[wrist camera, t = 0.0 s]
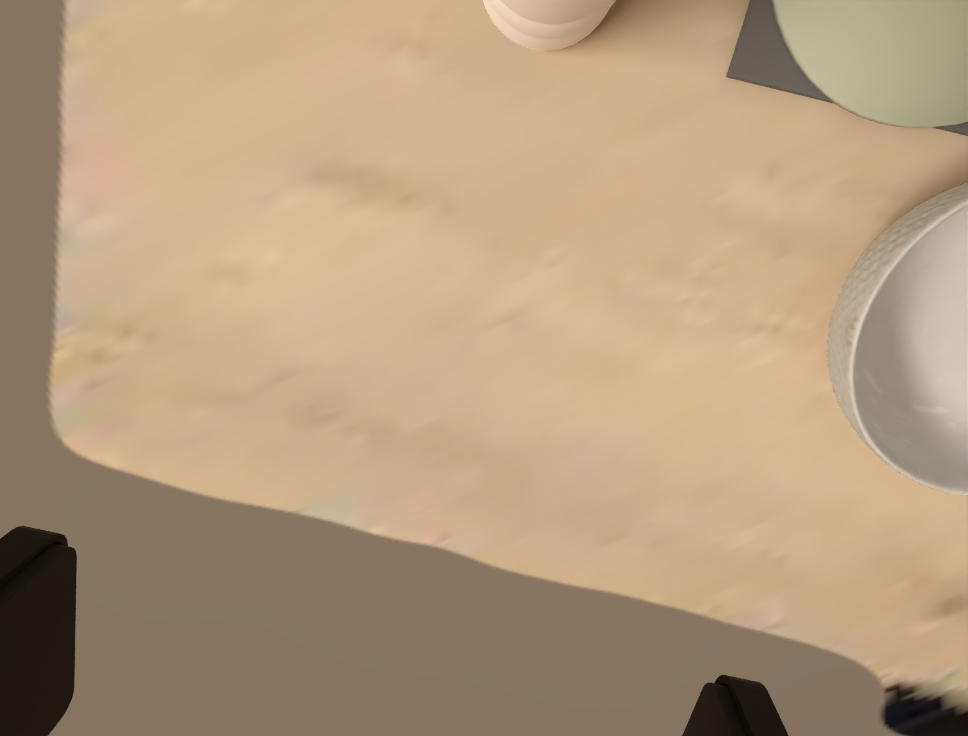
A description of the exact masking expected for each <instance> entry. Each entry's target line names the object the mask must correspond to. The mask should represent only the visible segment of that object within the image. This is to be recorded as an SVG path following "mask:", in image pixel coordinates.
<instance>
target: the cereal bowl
mask: <svg viewBox="0 0 968 736" xmlns="http://www.w3.org/2000/svg"><path fill="white" fill-rule="evenodd" d="M827 358H828V365H827V366H828V369H829V376H830V380H831V383H832V386H833V391H834V393H835V395H836V397H837V400H838V403H839V406H840V407H841V409H842V411H843V413H844V415H845V417H846V418H847V419H848V421H849V423H850V425H851V427H852V428H853V429H854V430H855V431H856V432H857V434H858V435H859V437H860V438H861V439H862V440H863V441H864V442H865V443H866V445H867V446H868V447H869V448H870V449H871V450H872V451H873V452H874V453H875V454H876V455H877V456H878V457H879V458H881V459H882V460H883V461H884V462H885V463H886V464H887V465H889V466H890V467H892V468H893V469H895V470H896V471H898V472H899V473H900V474H902V475H904V476H906V477H908V478H910V479H912V480H913V481H916V482H918V483H920V484H922V485H925V486H928V487H930V488H933V489H936V490H939V491H943V492H947V493H952V494H958V495H968V183H963V184H961V185H959V186H958V187H955V188H951V189H948V190H946V191H944V192H942V193H941V194H939V195H936V196H933V197H932V198H930V199H929V200H927V201H925V202H924V203H922V204H919V205H918V206H917V207H914V208H912V209H911V210H910V211H909V212H908V213H907V214H905V215H903V216H901V217H900V219H899V220H897V221H895V222H894V223H893V224H891V225H890V227H889V228H887V229H886V230H885V231H884V232H883V233H882V234H881V235H880V236H879V237H878V238H877V239H876V240H875V241H874V242H873V243H872V244H871V245H870V246H869V248H868V249H867V250H866V251H865V252H864V253H863V255H862V257H861V258H860V259H859V260H858V261H857V262H856V265H855V266H854V267H853V268H852V270H851V272H850V274H849V276H848V277H847V279H846V282H845V284H844V285H843V286H842V289H841V292H840V294H839V295H838V298H837V301H836V304H835V307H834V310H833V314H832V318H831V322H830V329H829V334H828V349H827Z"/></svg>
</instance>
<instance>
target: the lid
mask: <svg viewBox="0 0 968 736" xmlns="http://www.w3.org/2000/svg"><path fill="white" fill-rule="evenodd" d="M771 3H772V7H773V12H774V16H775V20H776V23H777V26H778V28H779V31H780V34H781V36H782V39H783V42H784V44H785V46H786V47H787V49H788V51H789V53H790V55H791V57H792V59H793V60H794V62H795V63H796V65H797V66H798V68H799V69H800V70H801V72H802V73H803V74H804V76H805V77H806V78H807V80H808V81H809V82H811V83H812V84H813V85H814V86H815V87H816V88H817V89H818V90H819V91H820V92H821V93H822V94H823V95H824V96H825V97H827V98H828V99H830V100H831V101H832V102H833V103H835V104H836V105H838V106H839V107H841V108H843V109H845V110H847V111H849V112H851V113H853V114H855V115H857V116H859V117H862V118H865V119H868V120H871V121H874V122H877V123H881V124H887V125H893V126H899V127H937V126H946V125H955V124H960V123H964V122H968V0H771Z"/></svg>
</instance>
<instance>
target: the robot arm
mask: <svg viewBox="0 0 968 736" xmlns="http://www.w3.org/2000/svg"><path fill="white" fill-rule="evenodd" d="M76 560H77V556H76V551H75V549H74V548H72V547H68V543H67V539H66V537H65V536H64V535H62V534H59V533H54V532H49V531H45V530H40V529H35V528H30V527H26V526H20V527H16V528H15V529H13V530H11V531H10V532H9V533H7V534H6V535H5V536H3V537H2V538H1V539H0V736H48V735H49V733H50V732H51V731H52V730H53V728H54V727H55V726H56V724H57V723H58V722H59V720H60V719H61V718H62V717H63V715H64V714H65V712H66V710H67V708H68V706H69V704H70V702H71V699H72V696H73V692H74V670H75V669H74V668H75V617H76V614H75V612H76V611H75V610H76V563H77V561H76ZM682 736H788V734H787V732H786V729H785V727H784V725H783V723H782V721H781V719H780V716H779V714H778V712H777V710H776V708H775V706H774V704H773V701H772V699H771V697H770V695H769V693H768V691H767V689H766V688H765V686H764V685H762V684H761V683H760V682H755V681H750V680H746V679H741V678H736V677H731V676H727V675H721V676H719V677H718V678H717V680H716V681H715V683H707V684H705V685H704V687H703V689H702V691H701V693H700V696H699V698H698V701H697V703H696V705H695V707H694V710H693V712H692V714H691V717H690V719H689V721H688V724H687V726H686V728H685V731H684V733H683V735H682Z"/></svg>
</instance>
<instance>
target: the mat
mask: <svg viewBox="0 0 968 736" xmlns="http://www.w3.org/2000/svg"><path fill="white" fill-rule="evenodd" d="M726 77H728V78H732V79H736V80H740V81H745V82H749V83H753V84H757V85H761V86H765V87H769V88H773V89H777V90H781V91H786V92H790V93H794V94H798V95H802V96H806V97H810V98H814V99H818V100H823V101H827V102H831V103H833V102H832V101H831V100H830V99H828V98H827V97H825V96H824V95H823V94H822V93H821V92H820V91H819V90H818V89H817V88H816V87H815V86H814V85H813V84H812V83H811V82H809V81H808V80H807V78H806V77H805V76H804V74H803V73H802V72H801V70H800V69H799V68H798V66H797V65H796V63H795V62H794V60H793V59H792V57H791V55H790V53H789V51H788V49H787V47H786V46H785V44H784V42H783V39H782V36H781V34H780V31H779V28H778V26H777V23H776V20H775V16H774V12H773V7H772V3H771V0H751V1H750V4H749V7H748V10H747V13H746V16H745V19H744V23H743V26H742V29H741V32H740V35H739V38H738V41H737V44H736V48H735V51H734V54H733V57H732V60H731V63H730V66H729V70H728V73H727V76H726ZM933 128H937V129H942V130H946V131H950V132H954V133H958V134H962V135H966V136H968V122H964V123H960V124H955V125H946V126H937V127H933Z"/></svg>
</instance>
